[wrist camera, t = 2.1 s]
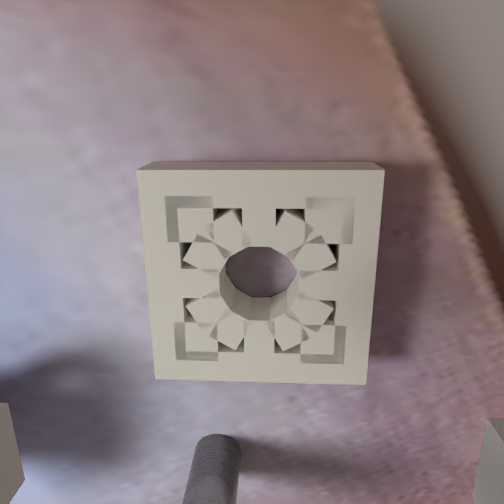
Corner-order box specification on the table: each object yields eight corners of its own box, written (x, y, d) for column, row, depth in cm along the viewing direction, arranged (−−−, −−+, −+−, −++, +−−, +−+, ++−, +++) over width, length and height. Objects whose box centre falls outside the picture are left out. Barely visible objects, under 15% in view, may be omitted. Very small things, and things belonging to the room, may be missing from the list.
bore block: (167, 351, 29) (155, 379, 26) (152, 161, 25) (136, 169, 22) (357, 355, 28) (365, 384, 25) (372, 161, 24) (384, 170, 21)
